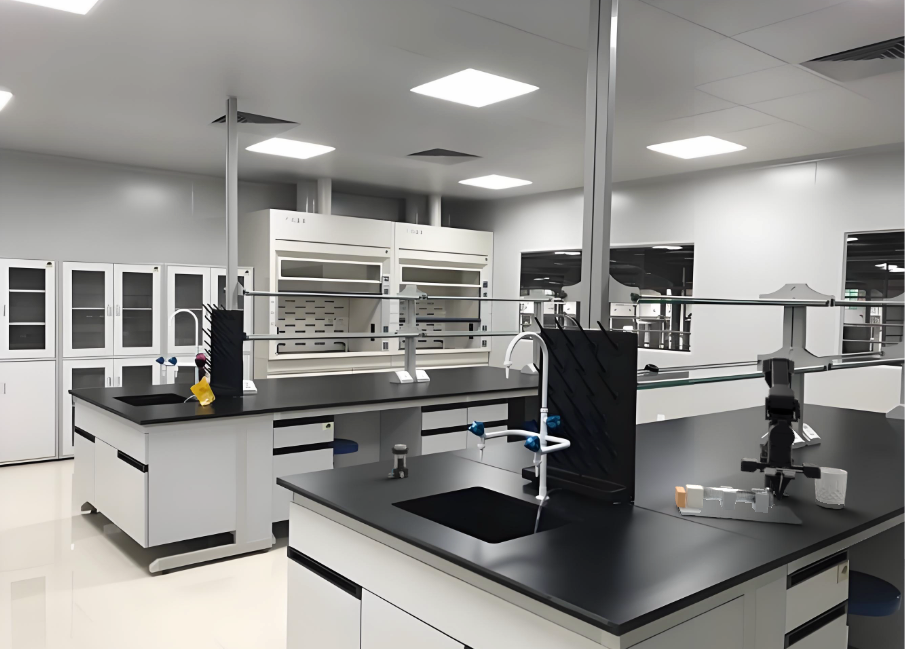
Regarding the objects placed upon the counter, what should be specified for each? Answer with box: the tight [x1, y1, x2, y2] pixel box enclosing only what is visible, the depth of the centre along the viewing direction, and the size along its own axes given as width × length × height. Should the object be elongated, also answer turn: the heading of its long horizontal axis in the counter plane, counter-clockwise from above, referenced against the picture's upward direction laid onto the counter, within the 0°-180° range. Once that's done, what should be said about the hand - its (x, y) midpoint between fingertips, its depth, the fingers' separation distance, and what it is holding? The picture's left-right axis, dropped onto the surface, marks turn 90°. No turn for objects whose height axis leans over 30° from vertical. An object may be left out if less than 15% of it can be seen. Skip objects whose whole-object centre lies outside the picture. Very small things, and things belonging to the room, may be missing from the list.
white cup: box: [814, 466, 848, 505], centre depth 185 cm, size 8×8×10 cm
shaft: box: [702, 486, 774, 508], centre depth 178 cm, size 5×17×5 cm, turn 77°
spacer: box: [685, 483, 704, 508], centre depth 180 cm, size 4×4×5 cm
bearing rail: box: [674, 485, 769, 513], centre depth 178 cm, size 14×30×6 cm, turn 77°
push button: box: [387, 443, 410, 479], centre depth 208 cm, size 7×5×10 cm
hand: (778, 500), depth 175 cm, fingers closed
